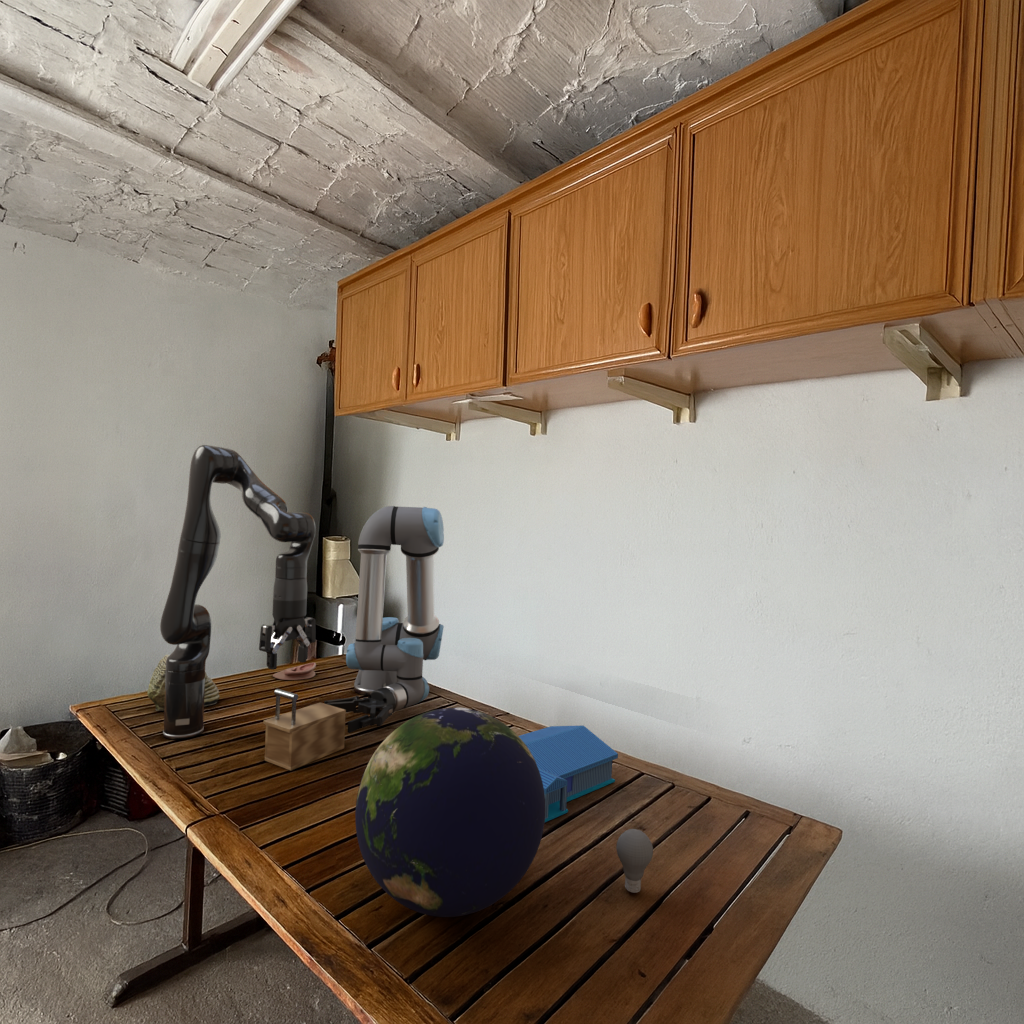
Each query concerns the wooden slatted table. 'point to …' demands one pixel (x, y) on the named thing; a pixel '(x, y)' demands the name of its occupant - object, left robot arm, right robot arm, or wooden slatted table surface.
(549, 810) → the model building
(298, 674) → the anatomical model
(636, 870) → the light bulb
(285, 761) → the chest
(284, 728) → the lid
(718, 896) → the wooden slatted table surface
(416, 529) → the right robot arm
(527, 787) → the globe
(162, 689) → the fossil
